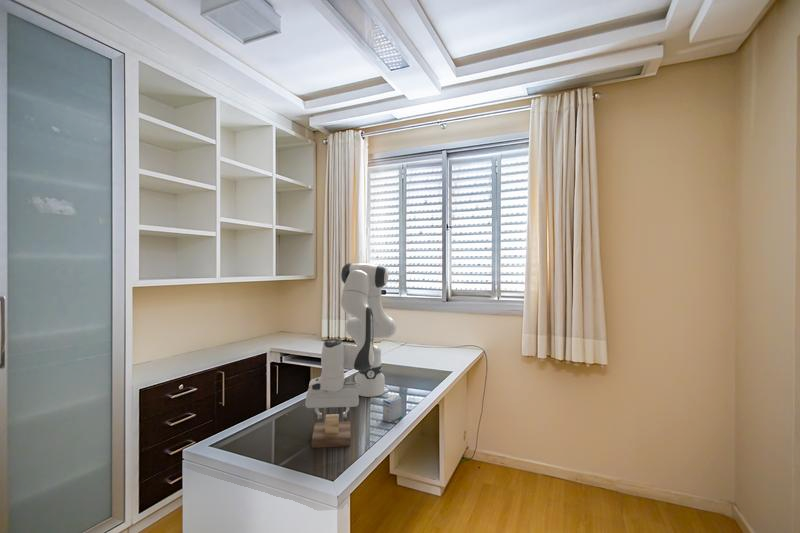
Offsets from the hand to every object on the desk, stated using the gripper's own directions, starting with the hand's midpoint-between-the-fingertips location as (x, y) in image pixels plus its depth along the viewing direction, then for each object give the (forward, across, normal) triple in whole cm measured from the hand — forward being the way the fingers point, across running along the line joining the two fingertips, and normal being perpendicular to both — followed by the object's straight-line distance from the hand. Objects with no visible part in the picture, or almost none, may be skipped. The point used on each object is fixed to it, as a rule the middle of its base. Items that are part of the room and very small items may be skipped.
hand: (332, 417), depth 143 cm
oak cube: (+4, 0, 0) cm, 5 cm away
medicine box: (+8, -25, -15) cm, 30 cm away
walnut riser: (+8, 0, 0) cm, 8 cm away
